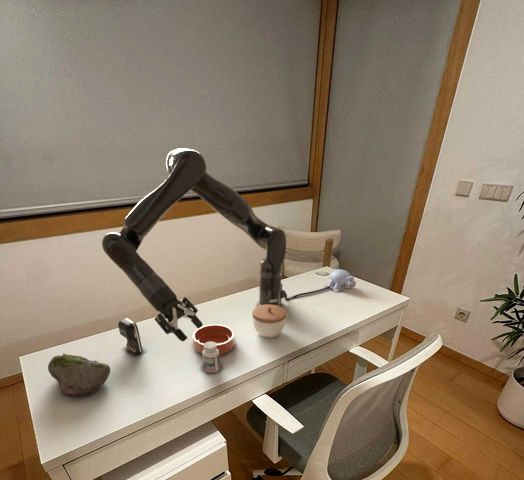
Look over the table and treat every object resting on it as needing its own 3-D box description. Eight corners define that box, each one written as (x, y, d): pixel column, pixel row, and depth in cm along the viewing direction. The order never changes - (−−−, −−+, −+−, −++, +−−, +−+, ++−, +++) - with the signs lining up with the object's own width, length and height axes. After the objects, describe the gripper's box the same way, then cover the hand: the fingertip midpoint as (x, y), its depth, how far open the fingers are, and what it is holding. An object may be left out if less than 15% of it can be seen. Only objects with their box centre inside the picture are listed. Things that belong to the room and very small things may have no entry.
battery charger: (123, 349, 111) (115, 320, 105) (133, 344, 114) (125, 316, 107) (133, 357, 108) (126, 327, 101) (143, 352, 110) (137, 323, 104)
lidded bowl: (247, 338, 119) (246, 311, 113) (259, 322, 129) (259, 297, 123) (279, 344, 116) (280, 317, 109) (289, 328, 125) (291, 302, 119)
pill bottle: (213, 361, 107) (211, 338, 102) (223, 367, 103) (222, 344, 98) (200, 367, 103) (198, 344, 98) (210, 374, 100) (208, 351, 95)
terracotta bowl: (217, 330, 123) (216, 320, 120) (242, 345, 115) (242, 334, 112) (186, 345, 114) (184, 334, 112) (211, 361, 106) (210, 350, 104)
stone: (120, 386, 95) (112, 359, 89) (69, 409, 87) (56, 380, 81) (96, 359, 106) (88, 333, 100) (49, 377, 98) (37, 350, 92)
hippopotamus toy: (344, 295, 152) (348, 276, 147) (322, 285, 162) (325, 267, 157) (360, 291, 157) (363, 272, 152) (337, 281, 167) (340, 263, 162)
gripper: (146, 294, 88) (186, 339, 91) (177, 277, 99) (212, 317, 102) (135, 308, 93) (173, 350, 96) (166, 290, 104) (199, 328, 107)
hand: (193, 333), depth 99 cm, fingers open, 8 cm apart
